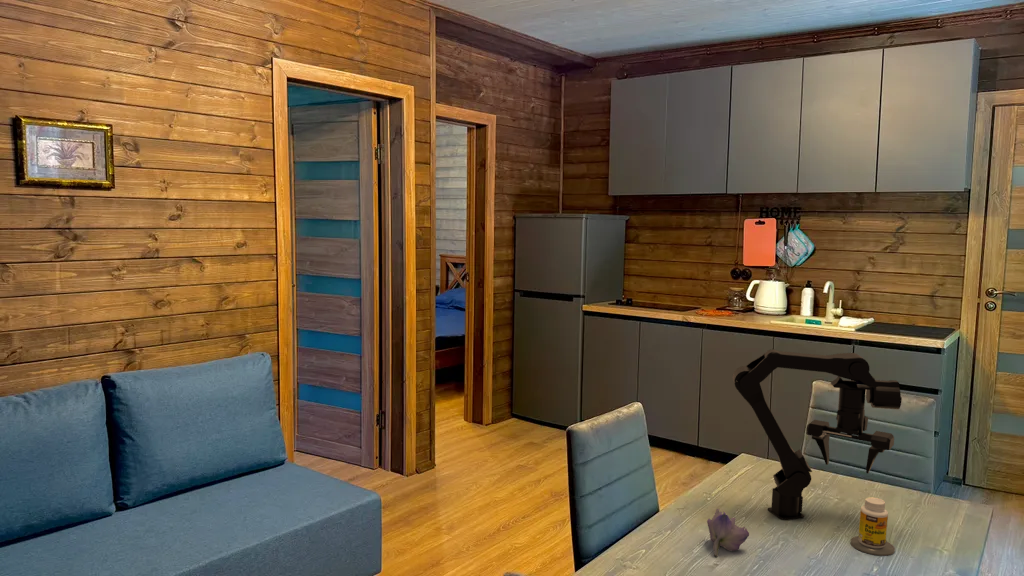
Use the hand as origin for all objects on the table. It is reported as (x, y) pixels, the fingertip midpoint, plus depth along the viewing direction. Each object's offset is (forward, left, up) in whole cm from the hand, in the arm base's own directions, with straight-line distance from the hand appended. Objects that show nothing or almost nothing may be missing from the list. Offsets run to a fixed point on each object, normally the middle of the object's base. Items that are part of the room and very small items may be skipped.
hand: (847, 468), depth 178 cm
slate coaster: (-4, -14, -13) cm, 19 cm away
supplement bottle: (-4, -14, -13) cm, 19 cm away
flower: (-38, -9, -13) cm, 41 cm away
